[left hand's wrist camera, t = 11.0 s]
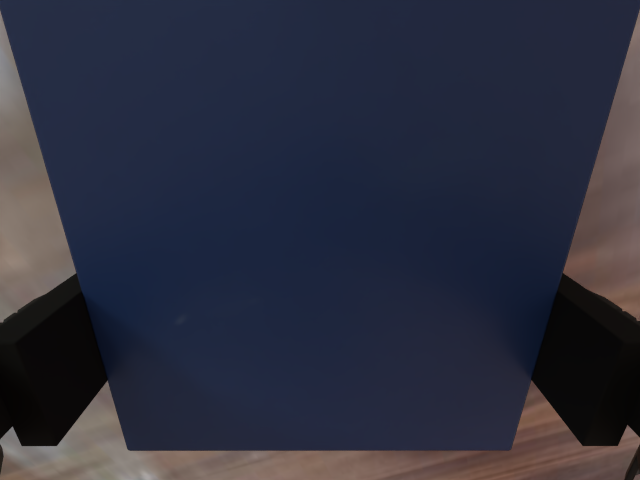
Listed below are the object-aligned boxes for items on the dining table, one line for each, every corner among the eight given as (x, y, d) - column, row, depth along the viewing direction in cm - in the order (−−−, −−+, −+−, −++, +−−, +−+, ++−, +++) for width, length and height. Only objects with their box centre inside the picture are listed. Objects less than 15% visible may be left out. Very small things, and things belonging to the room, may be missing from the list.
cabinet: (189, -34, 15) (-111, -361, 4) (450, -33, 15) (750, -356, 4) (224, 277, 20) (126, 451, 10) (414, 277, 20) (512, 452, 10)
